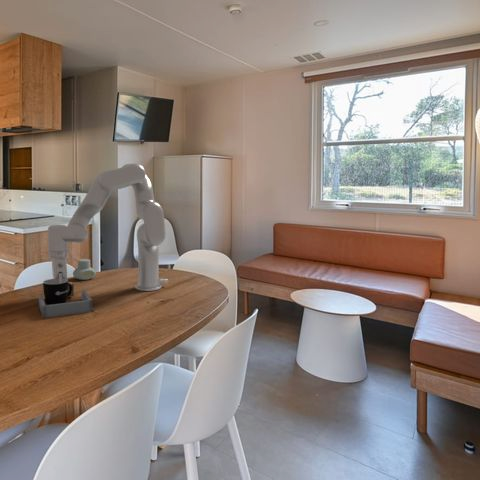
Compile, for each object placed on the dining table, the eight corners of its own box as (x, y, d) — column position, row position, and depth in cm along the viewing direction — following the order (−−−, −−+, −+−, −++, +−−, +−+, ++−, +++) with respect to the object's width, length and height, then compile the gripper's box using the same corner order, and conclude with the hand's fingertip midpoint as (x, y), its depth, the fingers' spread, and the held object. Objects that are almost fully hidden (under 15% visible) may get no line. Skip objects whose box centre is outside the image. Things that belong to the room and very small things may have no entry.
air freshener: (91, 275, 202) (91, 257, 200) (98, 278, 196) (97, 260, 195) (70, 278, 194) (70, 259, 193) (77, 282, 189) (76, 262, 187)
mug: (54, 310, 147) (53, 285, 146) (39, 306, 151) (37, 281, 150) (79, 302, 158) (78, 278, 156) (64, 298, 162) (63, 275, 160)
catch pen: (84, 299, 162) (84, 289, 161) (92, 311, 147) (92, 300, 147) (38, 305, 153) (38, 294, 152) (42, 318, 138) (42, 306, 138)
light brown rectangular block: (72, 293, 166) (72, 281, 165) (73, 296, 163) (73, 283, 162) (44, 296, 160) (44, 284, 159) (45, 299, 157) (44, 286, 156)
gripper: (70, 257, 154) (71, 300, 157) (65, 250, 168) (66, 290, 170) (50, 258, 150) (51, 302, 153) (46, 251, 164) (48, 292, 167)
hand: (59, 295), depth 162 cm, fingers closed on light brown rectangular block, 3 cm apart
